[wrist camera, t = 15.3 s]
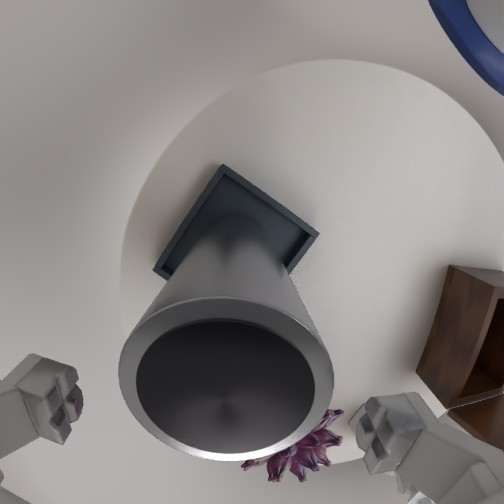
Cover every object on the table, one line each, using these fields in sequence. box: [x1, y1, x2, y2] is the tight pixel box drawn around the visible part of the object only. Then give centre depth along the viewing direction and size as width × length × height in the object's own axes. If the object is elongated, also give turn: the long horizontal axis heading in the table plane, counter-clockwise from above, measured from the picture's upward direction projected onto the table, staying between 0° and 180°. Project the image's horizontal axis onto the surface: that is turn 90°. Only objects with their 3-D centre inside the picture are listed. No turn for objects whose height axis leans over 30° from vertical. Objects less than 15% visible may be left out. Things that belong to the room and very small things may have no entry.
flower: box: [241, 409, 344, 482], centre depth 26 cm, size 12×12×12 cm
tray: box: [153, 164, 319, 281], centre depth 27 cm, size 11×10×2 cm
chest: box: [416, 265, 504, 409], centre depth 27 cm, size 14×11×8 cm
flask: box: [118, 214, 334, 461], centre depth 18 cm, size 6×6×20 cm
